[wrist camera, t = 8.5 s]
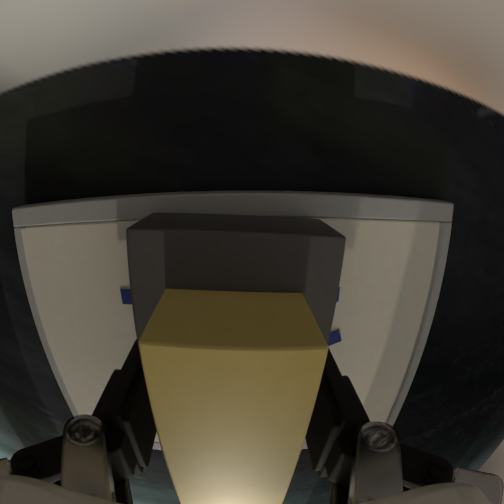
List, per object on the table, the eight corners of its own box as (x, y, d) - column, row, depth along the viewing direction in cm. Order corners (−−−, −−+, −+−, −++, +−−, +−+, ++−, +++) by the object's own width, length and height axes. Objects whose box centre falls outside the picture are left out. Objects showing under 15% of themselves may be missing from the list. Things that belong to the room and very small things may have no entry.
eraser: (151, 212, 9) (76, 259, 4) (320, 218, 10) (395, 270, 5) (177, 447, 13) (166, 525, 8) (282, 449, 13) (295, 527, 8)
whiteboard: (440, 199, 11) (454, 203, 10) (384, 422, 14) (389, 433, 13) (24, 204, 10) (10, 208, 9) (89, 425, 13) (84, 437, 12)
